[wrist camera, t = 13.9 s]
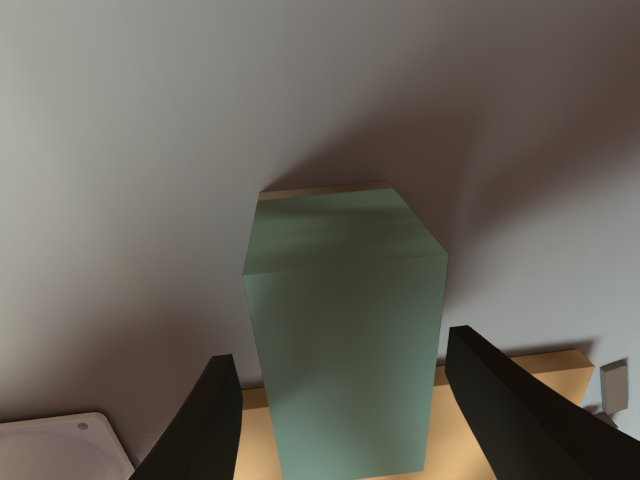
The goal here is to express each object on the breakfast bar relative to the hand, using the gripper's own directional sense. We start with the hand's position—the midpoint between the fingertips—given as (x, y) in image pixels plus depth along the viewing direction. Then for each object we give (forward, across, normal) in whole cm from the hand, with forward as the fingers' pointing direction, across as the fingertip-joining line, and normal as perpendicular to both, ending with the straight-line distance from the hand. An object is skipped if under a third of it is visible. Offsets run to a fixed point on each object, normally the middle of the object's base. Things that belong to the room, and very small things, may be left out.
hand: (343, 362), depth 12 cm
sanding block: (+5, 0, 0) cm, 5 cm away
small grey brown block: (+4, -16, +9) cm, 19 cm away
